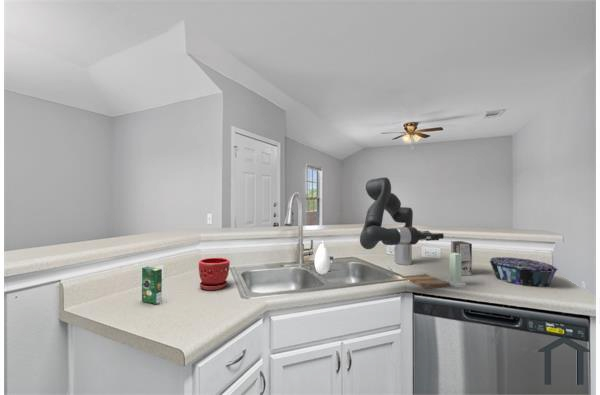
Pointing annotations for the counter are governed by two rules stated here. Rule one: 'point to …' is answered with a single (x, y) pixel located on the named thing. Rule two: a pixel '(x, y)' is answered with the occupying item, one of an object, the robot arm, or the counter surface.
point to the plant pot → (213, 273)
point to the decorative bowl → (523, 271)
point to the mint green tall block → (455, 270)
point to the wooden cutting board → (427, 281)
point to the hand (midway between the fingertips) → (435, 234)
